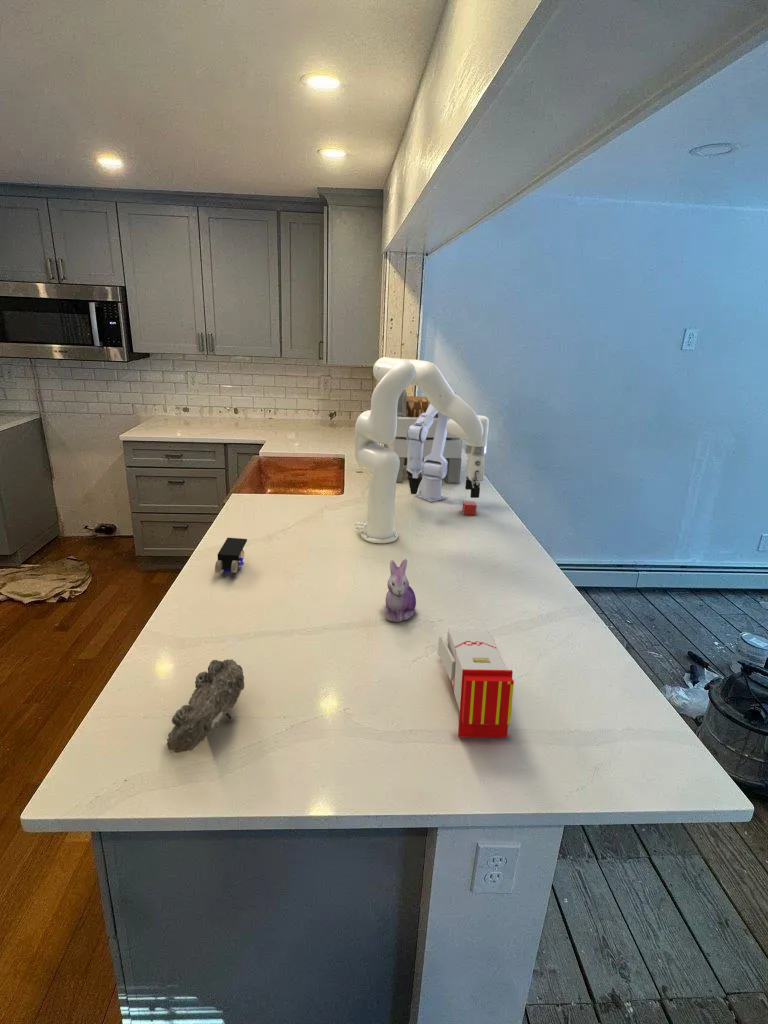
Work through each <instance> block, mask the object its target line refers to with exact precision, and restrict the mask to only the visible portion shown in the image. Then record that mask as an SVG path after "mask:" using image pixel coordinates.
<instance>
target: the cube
mask: <svg viewBox="0 0 768 1024" xmlns="http://www.w3.org/2000/svg"><path fill="white" fill-rule="evenodd" d="M477 506H478V505H477V504H476V501H469V500H463V501H462V506H461V507H462V509H461V511H462V514H463V515H464V516H477Z"/></svg>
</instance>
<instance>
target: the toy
mask: <svg viewBox="0 0 768 1024" xmlns="http://www.w3.org/2000/svg"><path fill="white" fill-rule="evenodd" d="M446 640H447V643H446V641H445V639H444V636H443V635H442V634H439V637H438V646H437V656H438V657H439V659H440V661H441V663H442V666H443V668H444V670H445V672H446V674H447V677H448V679H449V681H450V684H451V687H452V690H453V693H454V697H455V701H456V705H457V708H458V711H459V714H458V715H459V716H458V730H457V731H458V732H457V737H458V738H508V731H509V726H510V725H511V717H512V707H513V697H514V696H513V695H514V684H515V680H514V679H513V673H514V671H513V670H512V669H508V667H507V665H506V662H505V661H504V659H503V658H502V655H501V653H500V651H499V649H498V647H497V643H496V639H495V637H494V635H493V634H491V632H490V631H489V629H467V628H466V629H465V628H463V629H461V628H460V629H459V628H448V630H447V639H446Z"/></svg>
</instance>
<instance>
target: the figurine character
mask: <svg viewBox="0 0 768 1024" xmlns="http://www.w3.org/2000/svg"><path fill="white" fill-rule="evenodd" d="M247 542H248V538H240V537H226V539H225V541H224V543H223V544H222V546H221V547H220V549H219V551H218V552H217V560H216V562H215V564H214V572H215V573H221V577H222V578H224V577H225V576H226V574H227V573H230V574H231V573H232V574H231V578H234V577H235V575H236V573H237V572H239V571H240V567H242V566H243V565H244V564H245V562H244V558H245V551H244V547H245V546H246V544H247Z"/></svg>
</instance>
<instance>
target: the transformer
mask: <svg viewBox="0 0 768 1024" xmlns="http://www.w3.org/2000/svg"><path fill="white" fill-rule="evenodd" d="M453 392H454V393H455V394H456V395H457V392H455V391H454V390H453ZM407 394H408V393H407V390H406V389H404V391H403V392H402V393H401V395H400V397H399V399H398V405H397V431H396V437H395V439H394V440H393V442H391V443H389V444H383V446H384V447H386V448H389V449H391V450H393V451H394V452H395V453H396V454H397V455H398V457H399V460H400V467H399V472H398V475H397V480H396V483H402V482H403V475H404V469H405V466H407V461H408V444H407V438H406V433H407V429H408V427H409V426H411V425H414V423H415V422H416V421H417V419H418V418H419V416H420V415H421V414H422V413H425V412H426V410H427V409H428V407H429V405H430V402H429V400H428V399H427V397H426V396H415V395H414V396H413V395H412V396H411V395H407ZM437 421H438V414H436V415H435V416H434V417H433V423H432V425H431V426H430V428H429V429H428V434H427V437H426V440H425V441H424V445H423V460H422V463H423V461H424V458H425V457H426V456H428V455H429V454H431V450H432V445H433V440H434V436H435V431H436V426H437ZM463 442H464V441H463V439H461V438H457V437H454V436H452V435H450V434H449V433H448V431H447V436H446V441H445V446H444V451H443V457H444V458H445V459H446V460H447V462H448V464H447V474H446V476H445V478H444V479H445V481H446V482H447V483H449V484H455V483H456V484H459V483H461V472H462V461H463V460H462V453H463ZM431 462H435V461H431ZM435 463H440V462H435ZM440 464H441V463H440Z"/></svg>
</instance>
